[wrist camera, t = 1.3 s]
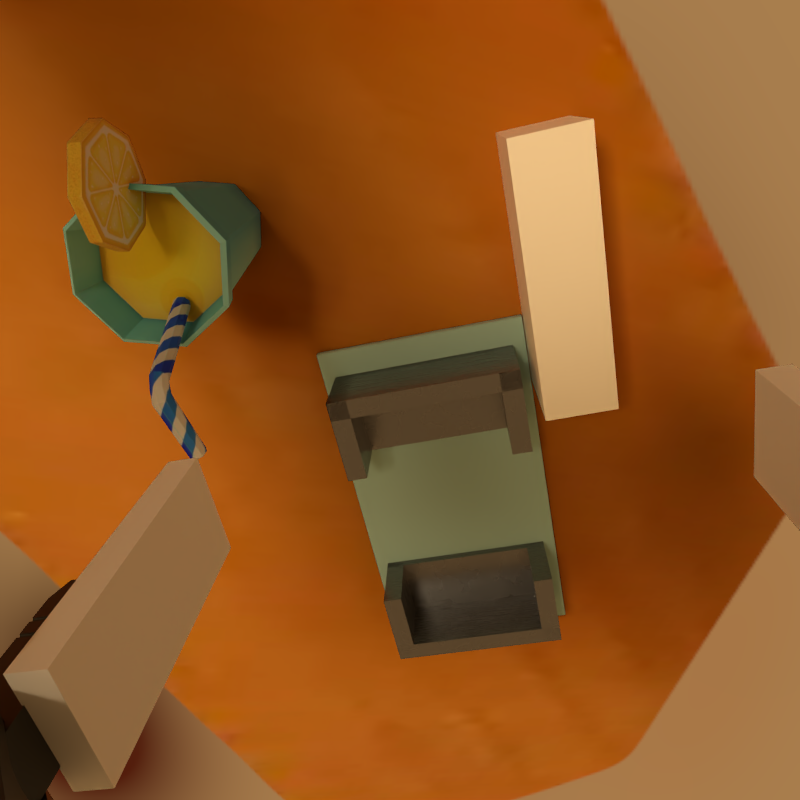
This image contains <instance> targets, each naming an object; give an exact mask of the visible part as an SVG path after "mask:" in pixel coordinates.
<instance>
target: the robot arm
mask: <svg viewBox="0 0 800 800" xmlns="http://www.w3.org/2000/svg"><path fill="white" fill-rule="evenodd" d="M754 477H755V479H756V480H757V481H758V482H759V483H760V484H761V486H762V487H763V488H764V489H765V490H766V492H767V493H768V494H769V495H770V496H771V497H772V499H773V500H774V501H775V502H776V503H777V504H778V506H779V507H780V508H781V509H782V510H783V512H784V513H785V514H786V515H787V516H788V517H789V519H790V520H791V521H792V522H793V523H794V524H795V526H796V527H797V528H798V529H799V530H800V369H799V368H798V367H796V366H795V365H793V364H789V365H783V366H776V367H770V368H763V369H757V370H756V376H755V438H754ZM230 548H231V547H230V544H229V542H228V539H227V536H226V534H225V531H224V528H223V526H222V523H221V520H220V517H219V515H218V512H217V509H216V507H215V504H214V501H213V499H212V496H211V493H210V491H209V488H208V485H207V483H206V480H205V477H204V475H203V472H202V469H201V467H200V464H199V461H198V459H197V458H191V459H184V460H178V461H172V462H168V463H167V464H166V466H165V467H164V468H163V469H162V471H161V472H160V473H159V475H158V476H157V477H156V478H155V480H154V481H153V482H152V484H151V485H150V486H149V487H148V489H147V490H146V491H145V493H144V494H143V495H142V496H141V498H140V499H139V500H138V502H137V503H136V504H135V505H134V507H133V508H132V509H131V511H130V512H129V513H128V514H127V516H126V517H125V518H124V519H123V521H122V522H121V523H120V525H119V526H118V527H117V528H116V530H115V531H114V532H113V534H112V535H111V536H110V537H109V539H108V540H107V541H106V543H105V544H104V545H103V546H102V548H101V549H100V550H99V552H98V553H97V554H96V555H95V557H94V558H93V559H92V561H91V562H90V563H89V564H88V566H87V567H86V568H85V570H84V571H83V572H82V573H81V575H80V576H79V577H78V579H77V580H71V581H70V582H68V583H67V584H66V585H65V586H63V587H62V588H61V589H60V590H58V591H57V592H56V593H55V594H53V595H52V596H51V597H50V598H48V600H47V601H46V602H45V603H44V605H43V606H42V607H41V608H40V609H39V611H38V612H37V613H36V614H35V616H34V617H33V621H32V622H29V623H28V624H27V626H26V627H25V628H24V629H23V631H22V632H21V633H20V638H16V639H15V640H14V642H13V643H12V644H11V645H10V647H9V648H8V649H7V650H6V652H5V653H4V654H3V656H2V657H1V658H0V800H53V798H52V797H51V796H50V794H49V792H48V791H47V788H48V787H49V785H50V784H51V782H52V780H53V778H54V777H55V775H56V773H57V771H58V770H59V768H60V770H61V772H62V773H63V774H64V777H65V778H66V780H67V782H68V783H69V785H70V787H71V788H72V790H73V791H74V792H75V791H86V790H99V789H111V788H115V786H116V784H117V782H118V780H119V777H120V776H121V773H122V771H123V769H124V767H125V765H126V763H127V761H128V759H129V757H130V755H131V753H132V751H133V749H134V747H135V744H136V742H137V740H138V738H139V736H140V734H141V732H142V730H143V728H144V726H145V724H146V722H147V720H148V718H149V716H150V714H151V711H152V709H153V707H154V705H155V703H156V701H157V699H158V697H159V695H160V693H161V691H162V689H163V687H164V685H165V683H166V681H167V678H168V676H169V674H170V672H171V670H172V668H173V666H174V664H175V662H176V660H177V658H178V656H179V654H180V652H181V650H182V647H183V645H184V643H185V641H186V639H187V637H188V635H189V633H190V631H191V629H192V627H193V625H194V623H195V621H196V619H197V616H198V614H199V612H200V610H201V608H202V606H203V604H204V602H205V600H206V598H207V596H208V594H209V592H210V590H211V588H212V585H213V583H214V581H215V579H216V577H217V575H218V573H219V571H220V569H221V567H222V565H223V563H224V561H225V559H226V557H227V554H228V552H229V550H230Z"/></svg>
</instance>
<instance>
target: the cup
mask: <svg viewBox="0 0 800 800" xmlns="http://www.w3.org/2000/svg"><path fill="white" fill-rule="evenodd" d="M67 197H68V199H69V201H70V203H71V205H72V207H73V209H74V211H75V215H74V216H73V217H72V219H71V220H70V221H69V222H68V223H67V224H66V225H65V226H64V228H63V232H64V238H65V245H66V251H67V258H68V264H69V271H70V277H71V284H72V290H73V295H74V296H75V297H76V298H78V299H79V300H80V301H81V302H82V303H83V304H84V305H85V306H86V307H87V308H88V309H89V310H90V311H92V312H93V313H94V314H95V315H96V316H97V317H98V318H99V319H100V320H101V321H102V322H103V323H105V324H106V325H107V326H108V327H109V328H110V329H111V330H112V331H113V332H114V333H115V334H116V335H118V336H119V337H120V338H121V339H122V340H123V341H124V342H137V343H149V344H159V347H158V350H157V353H156V356H155V359H154V362H153V365H152V368H151V371H150V374H149V383H150V394H151V399H152V405H153V406H154V408H155V409H156V411H157V412H158V414H159V415H160V416H161V418H162V419H163V421H164V422H165V423H166V425H167V426H168V428H169V429H170V430H171V432H172V433H173V435H174V436H175V437H176V439H177V440H178V442H179V443H180V445H181V446H182V447H183V449H184V450H185V452H186V453H187V454H188V456H189V457H190V459H191V458H197V459H199V458H201V457H203V456H204V454H205V453H206V451H207V450H206V447H205V445H204V444H203V442H202V441H201V439H200V438H199V436H198V435H197V433H196V432H195V430H194V428H193V427H192V425H191V424H190V422H189V421H188V419H187V418H186V416H185V414H184V413H183V411H182V410H181V408H180V407H179V405H178V404H177V402H176V401H175V399H174V397H173V396H172V394H171V390H170V383H169V380H170V376H171V373H172V369H173V366H174V362H175V359H176V356H177V352H178V349H179V346H186V347H187V346H188V345H189V344H190V343H191V342H192V341H193V340H194V339H195V338H196V337H198V336H199V335H200V334H201V333H202V332H203V331H204V330H205V329H206V328H207V327H208V326H209V325H210V324H211V323H212V322H214V321H215V320H216V319H217V318H218V317H219V316H220V315H221V314H222V313H223V312H224V311H225V310H226V309H227V308H228V307H229V306H230V304H231V302H232V300H233V295H232V290H233V288H234V287H235V285H236V284H237V282H238V281H239V279H240V278H241V276H242V275H243V273H244V272H245V270H246V269H247V267H248V266H249V264H250V263H251V261H252V260H253V258H254V257H255V255H256V254H257V252H258V251H259V249H260V248H261V220H260V211H259V210H258V209H257V207H256V206H255V205H254V204H253V203H252V202H251V201H250V200H249V199H248V198H247V197H246V196H245V194H244V193H243V192H242V191H241V190H240V189H239V188H238V187H237V186H236V185H235V184H229V183H216V182H203V181H197V182H184V183H171V184H157V185H153V184H146V179H145V177H144V174H143V171H142V169H141V166H140V164H139V161H138V158H137V156H136V153H135V151H134V148H133V145H132V143H131V140H130V138H129V136H128V135H126V134H125V133H124V132H122V131H121V130H119V129H118V128H116V127H115V126H113V125H112V124H110V123H109V122H107V121H106V120H105V119H103V118H89V119H88V120H87V121H86V122H85V123H84V124H83V125H82V126H81V127H80V129H79V130H78V131H77V132H76V133H75V134H74V135H73V136H72V137H71V139H70V140H69V141H68V142H67Z"/></svg>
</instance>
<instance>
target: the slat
mask: <svg viewBox="0 0 800 800" xmlns="http://www.w3.org/2000/svg"><path fill="white" fill-rule="evenodd" d="M496 138H497V145H498V152H499V159H500V166H501V173H502V179H503V186H504V193H505V200H506V207H507V214H508V221H509V228H510V234H511V241H512V248H513V255H514V262H515V269H516V276H517V283H518V289H519V296H520V303H521V310H522V317H523V324H524V331H525V337H526V344H527V351H528V358H529V365H530V372H531V379H532V382H533V385H534V388H535V391H536V394H537V397H538V400H539V403H540V406H541V409H542V412H543V415H544V418H545V420H546V421H550V420H556V419H562V418H567V417H573V416H579V415H585V414H591V413H597V412H603V411H609V410H615V409H619V406H618V394H617V383H616V371H615V360H614V348H613V336H612V325H611V313H610V302H609V290H608V279H607V267H606V256H605V244H604V233H603V221H602V210H601V198H600V187H599V175H598V164H597V152H596V141H595V129H594V119H591V118H584V117H576V116H566V117H562V118H557V119H553V120H549V121H544V122H540V123H536V124H531V125H527V126H522V127H518V128H514V129H509V130H505V131H501V132H496Z"/></svg>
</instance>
